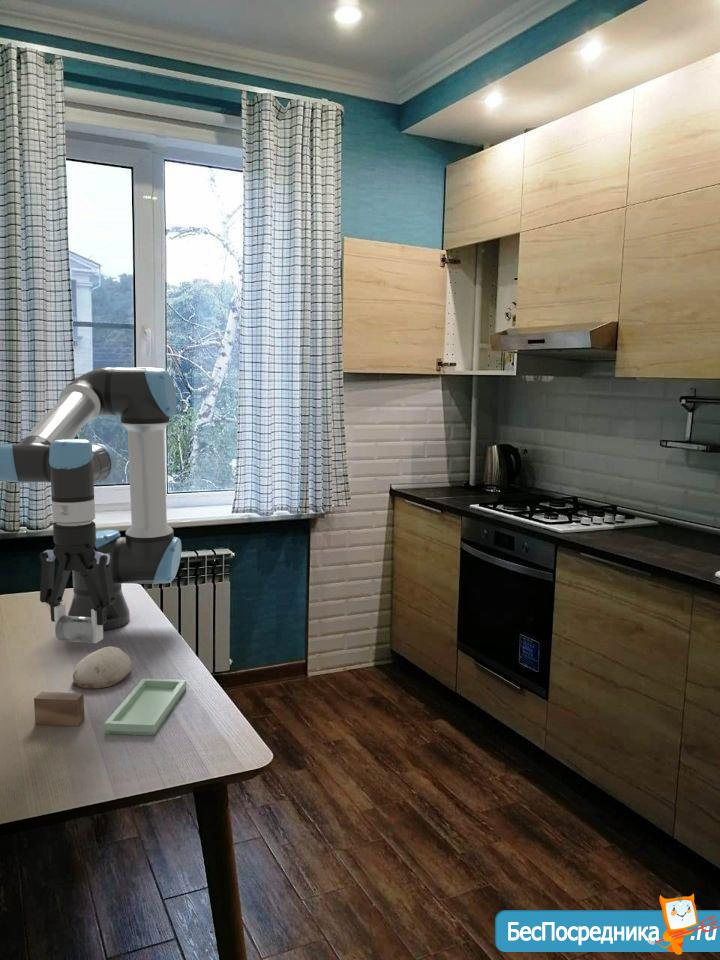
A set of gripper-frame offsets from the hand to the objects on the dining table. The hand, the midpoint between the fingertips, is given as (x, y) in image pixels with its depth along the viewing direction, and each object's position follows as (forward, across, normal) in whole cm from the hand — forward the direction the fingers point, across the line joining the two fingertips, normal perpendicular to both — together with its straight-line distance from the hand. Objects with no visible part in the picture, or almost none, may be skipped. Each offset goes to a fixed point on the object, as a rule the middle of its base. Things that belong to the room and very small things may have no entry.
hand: (79, 639), depth 148 cm
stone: (+14, -2, +13) cm, 19 cm away
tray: (+13, +14, 0) cm, 19 cm away
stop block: (+13, 0, -8) cm, 15 cm away
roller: (0, 0, 0) cm, 0 cm away
